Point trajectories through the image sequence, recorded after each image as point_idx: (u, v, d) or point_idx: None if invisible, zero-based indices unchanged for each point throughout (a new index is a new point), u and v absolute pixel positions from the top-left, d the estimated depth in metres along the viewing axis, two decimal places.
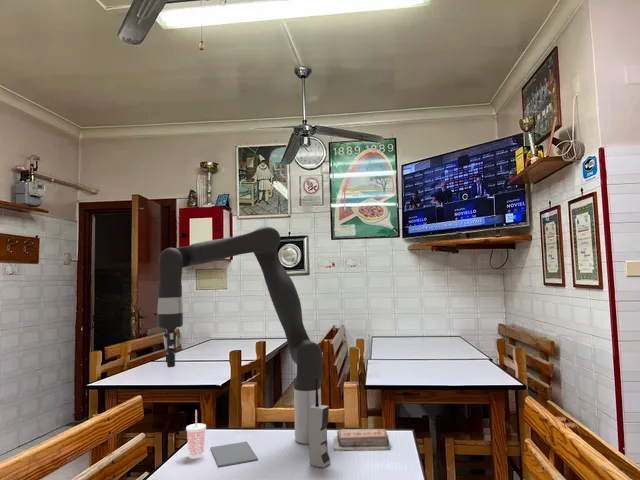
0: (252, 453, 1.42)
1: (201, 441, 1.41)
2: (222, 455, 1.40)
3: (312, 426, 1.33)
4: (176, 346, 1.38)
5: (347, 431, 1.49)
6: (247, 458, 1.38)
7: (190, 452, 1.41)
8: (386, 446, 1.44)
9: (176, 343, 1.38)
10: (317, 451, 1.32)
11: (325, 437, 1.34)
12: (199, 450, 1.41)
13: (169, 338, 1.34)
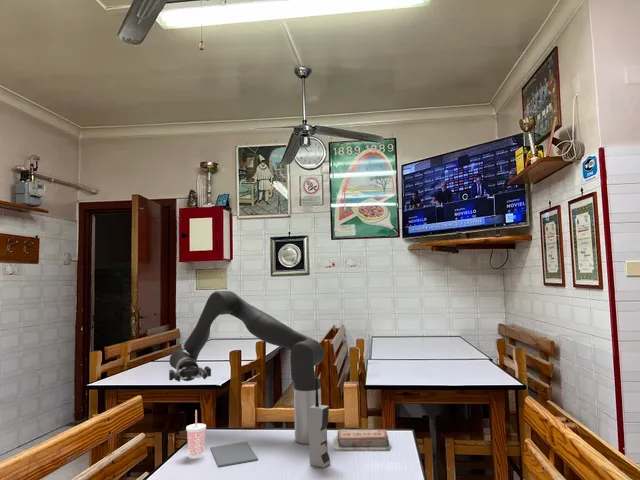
0: (252, 453, 1.42)
1: (201, 441, 1.41)
2: (222, 455, 1.40)
3: (312, 426, 1.33)
4: (180, 370, 1.59)
5: (347, 431, 1.49)
6: (247, 458, 1.38)
7: (190, 452, 1.41)
8: (386, 447, 1.44)
9: (179, 369, 1.59)
10: (317, 451, 1.32)
11: (325, 437, 1.34)
12: (199, 450, 1.41)
13: None
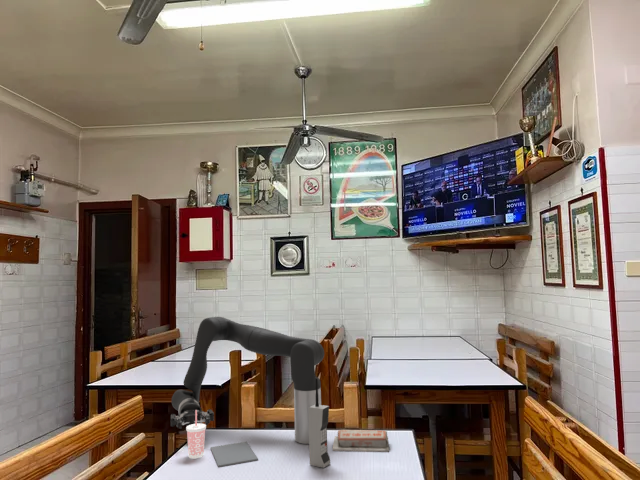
0: (252, 453, 1.42)
1: (201, 441, 1.41)
2: (222, 455, 1.40)
3: (312, 426, 1.33)
4: (182, 415, 1.53)
5: (347, 431, 1.49)
6: (247, 458, 1.38)
7: (190, 452, 1.41)
8: (385, 448, 1.43)
9: (181, 414, 1.54)
10: (317, 451, 1.32)
11: (325, 437, 1.34)
12: (199, 450, 1.41)
13: None
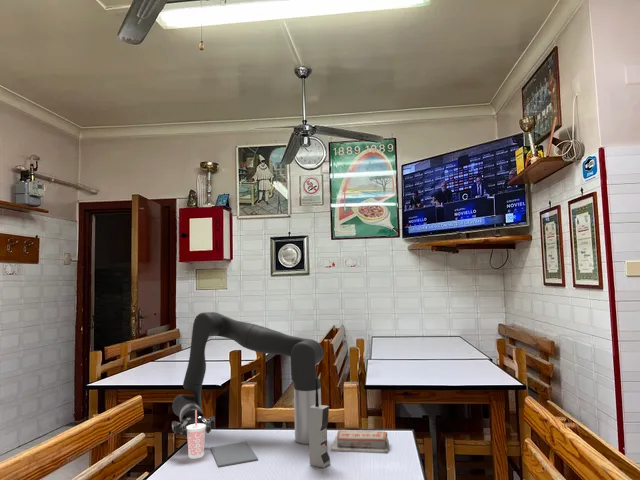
0: (252, 453, 1.42)
1: (201, 441, 1.41)
2: (222, 455, 1.40)
3: (312, 426, 1.33)
4: (186, 422, 1.46)
5: (347, 432, 1.48)
6: (247, 458, 1.38)
7: (190, 452, 1.41)
8: (384, 449, 1.42)
9: (184, 421, 1.46)
10: (317, 451, 1.32)
11: (325, 437, 1.34)
12: (199, 450, 1.41)
13: (172, 428, 1.46)
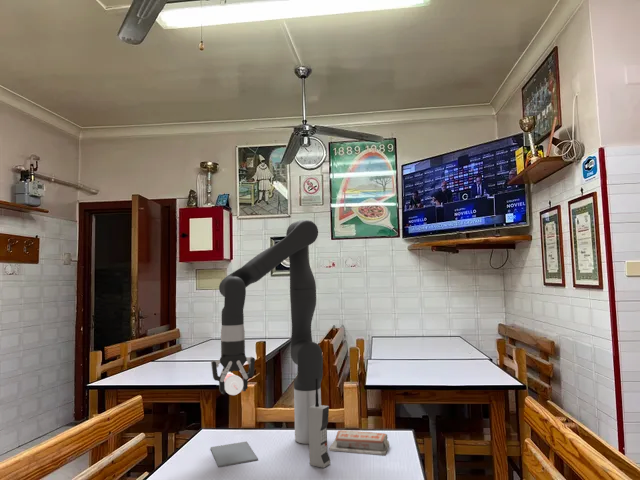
0: (252, 453, 1.42)
1: None
2: (222, 455, 1.40)
3: (312, 426, 1.33)
4: (225, 374, 1.42)
5: (346, 432, 1.48)
6: (247, 458, 1.38)
7: None
8: (382, 451, 1.40)
9: (224, 371, 1.42)
10: (317, 451, 1.32)
11: (325, 437, 1.34)
12: None
13: None
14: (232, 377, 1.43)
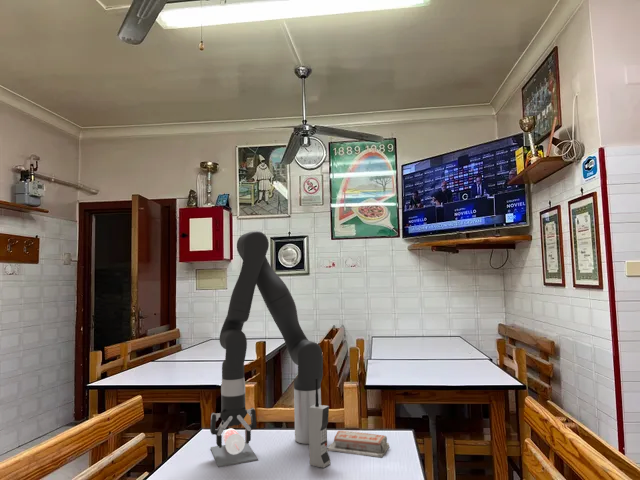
0: (252, 453, 1.42)
1: None
2: (222, 455, 1.40)
3: (312, 426, 1.33)
4: (223, 428, 1.40)
5: (346, 433, 1.47)
6: (247, 458, 1.38)
7: None
8: (379, 453, 1.39)
9: (222, 425, 1.40)
10: (317, 451, 1.32)
11: (325, 437, 1.34)
12: None
13: (211, 418, 1.41)
14: (234, 436, 1.42)
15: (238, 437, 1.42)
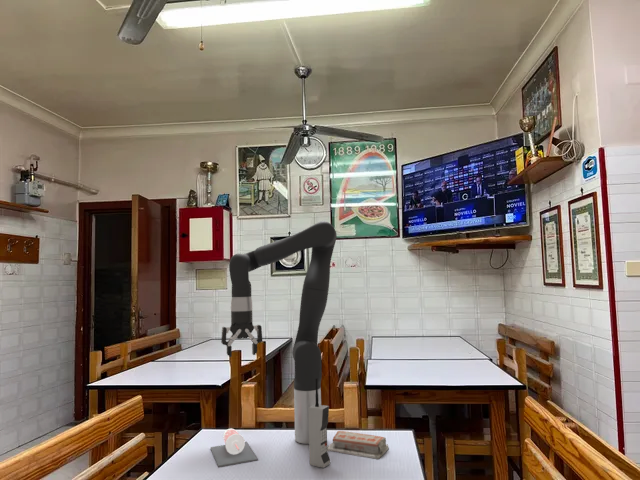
0: (252, 453, 1.42)
1: None
2: (222, 455, 1.40)
3: (312, 426, 1.33)
4: (233, 340, 1.58)
5: (345, 433, 1.47)
6: (247, 458, 1.38)
7: None
8: (376, 455, 1.37)
9: (232, 337, 1.58)
10: (317, 451, 1.32)
11: (325, 437, 1.34)
12: None
13: (222, 331, 1.59)
14: (234, 436, 1.42)
15: (238, 437, 1.42)
